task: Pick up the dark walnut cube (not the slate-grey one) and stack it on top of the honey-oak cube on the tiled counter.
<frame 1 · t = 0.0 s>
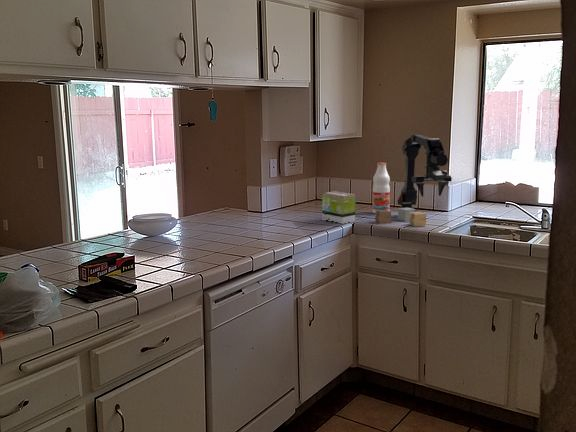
hand: (431, 196, 285), 15 cm above the worktop, tool pointing down, fingers open, 9 cm apart
walnut block: (383, 222, 297), on the worktop
fruit juice: (380, 213, 324), on the worktop
tea box: (338, 221, 302), on the worktop
grey block: (406, 220, 303), on the worktop
oak block: (417, 225, 290), on the worktop
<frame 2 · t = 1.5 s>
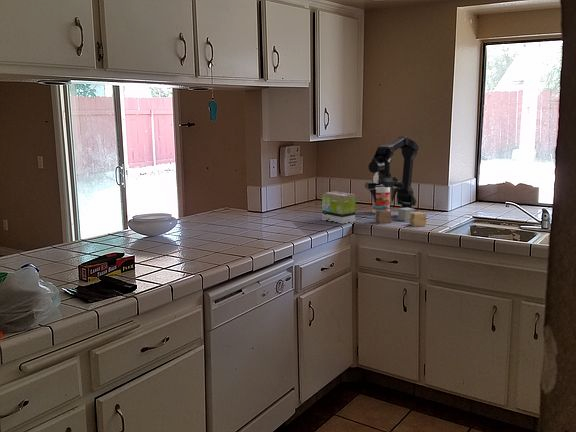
hand: (383, 201, 296), 11 cm above the worktop, tool pointing down, fingers open, 9 cm apart
nothing on the worktop moved.
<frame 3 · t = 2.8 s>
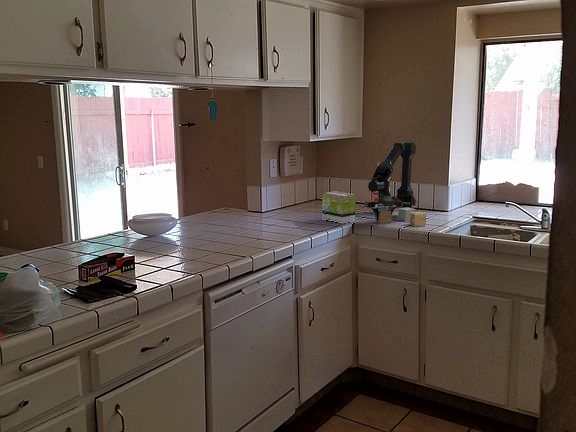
hand: (383, 220, 297), 1 cm above the worktop, tool pointing down, fingers closed on walnut block, 6 cm apart
walnut block: (383, 222, 297), on the worktop, touching gripper
everything else where it was.
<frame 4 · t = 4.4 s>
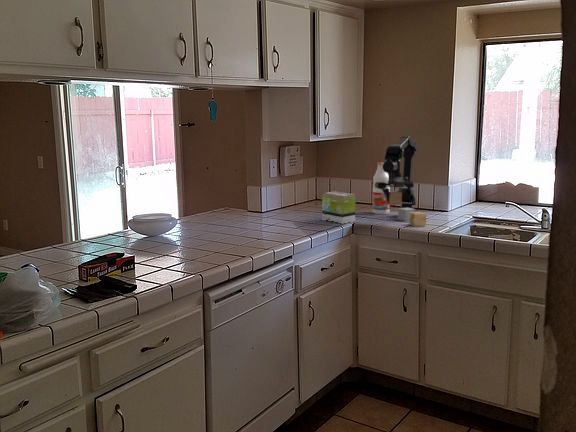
hand: (393, 201, 293), 11 cm above the worktop, tool pointing down, fingers closed on walnut block, 6 cm apart
walnut block: (393, 203, 293), point 10 cm above the worktop, touching gripper
everything else where it was.
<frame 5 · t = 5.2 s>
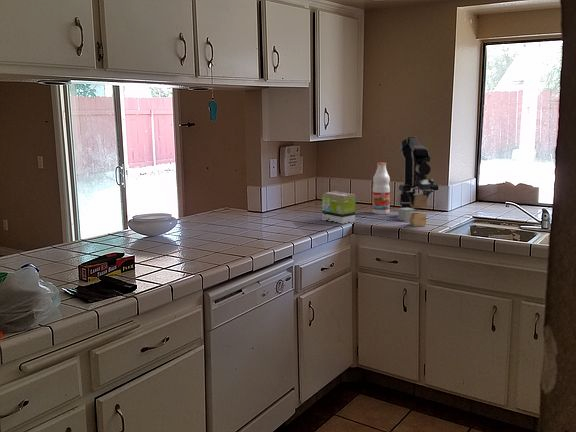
hand: (418, 204, 288), 10 cm above the worktop, tool pointing down, fingers closed on walnut block, 6 cm apart
walnut block: (418, 206, 288), point 9 cm above the worktop, touching gripper
everything else where it was.
when the fingers open (8 cm above the worktop, at t = 6.0 s): walnut block stays where it is, resting on oak block.
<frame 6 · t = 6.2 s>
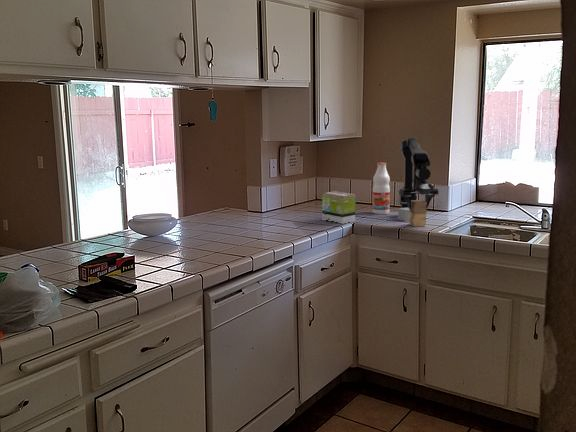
hand: (418, 208, 288), 8 cm above the worktop, tool pointing down, fingers open, 8 cm apart
walnut block: (418, 213, 289), point 6 cm above the worktop, touching oak block
oak block: (417, 224, 290), on the worktop, touching walnut block
everything else where it was.
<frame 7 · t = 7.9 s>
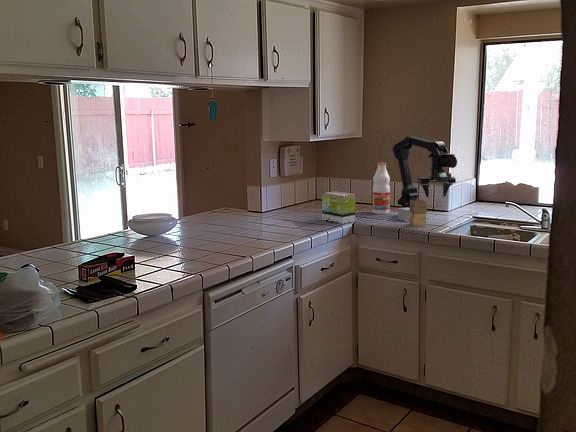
hand: (435, 197, 297), 12 cm above the worktop, tool pointing down, fingers open, 9 cm apart
nothing on the worktop moved.
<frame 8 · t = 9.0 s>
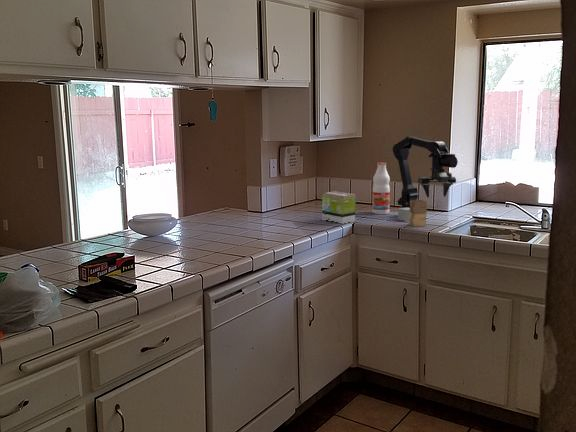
hand: (436, 196, 297), 13 cm above the worktop, tool pointing down, fingers open, 9 cm apart
nothing on the worktop moved.
at the end: walnut block 0.0 cm off-centre on the oak block, point 6.0 cm above the oak block's base; walnut block tilted 0°; grey block moved 0.1 cm from its start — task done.
